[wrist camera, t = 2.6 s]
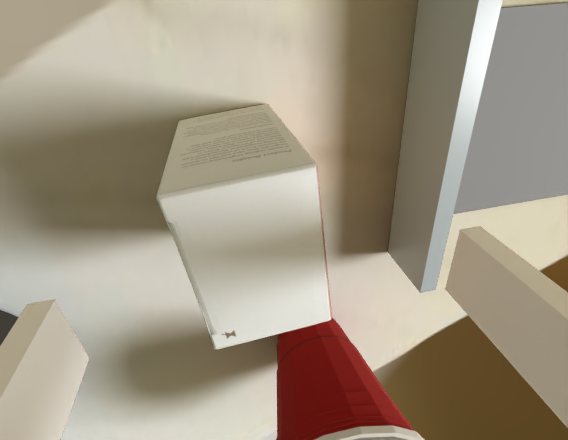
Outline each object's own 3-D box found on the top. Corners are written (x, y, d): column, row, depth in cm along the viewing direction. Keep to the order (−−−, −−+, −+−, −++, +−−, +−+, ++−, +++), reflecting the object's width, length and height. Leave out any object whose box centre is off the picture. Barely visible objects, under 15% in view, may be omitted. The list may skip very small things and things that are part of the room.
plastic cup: (225, 323, 28) (237, 490, 18) (341, 270, 28) (419, 411, 18) (275, 386, 34) (304, 538, 24) (371, 343, 34) (442, 479, 24)
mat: (444, 212, 27) (447, 215, 27) (488, 9, 20) (493, 8, 20) (591, 187, 29) (595, 189, 29) (679, -7, 22) (687, -7, 21)
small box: (287, 213, 24) (335, 324, 15) (210, 230, 24) (214, 356, 15) (270, 99, 20) (322, 162, 11) (176, 117, 19) (152, 197, 11)
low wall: (387, 251, 28) (420, 292, 24) (424, -52, 18) (494, -76, 13) (401, 249, 28) (435, 289, 24) (445, -53, 18) (520, -76, 14)
